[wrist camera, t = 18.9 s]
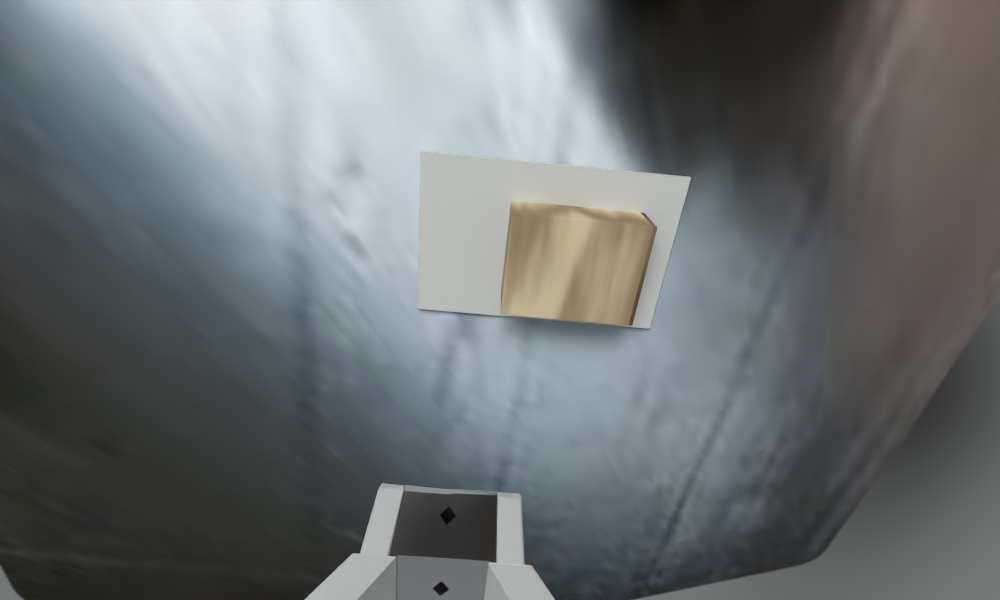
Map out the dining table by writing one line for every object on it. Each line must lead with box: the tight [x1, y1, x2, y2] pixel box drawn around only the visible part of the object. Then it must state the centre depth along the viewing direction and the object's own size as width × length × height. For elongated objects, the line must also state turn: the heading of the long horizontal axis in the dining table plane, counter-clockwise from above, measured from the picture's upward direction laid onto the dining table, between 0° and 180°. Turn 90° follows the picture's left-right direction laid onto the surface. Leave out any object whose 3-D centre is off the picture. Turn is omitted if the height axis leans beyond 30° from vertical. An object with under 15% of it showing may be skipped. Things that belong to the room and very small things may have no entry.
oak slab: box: [501, 200, 657, 326], centre depth 37 cm, size 4×8×10 cm
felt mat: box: [418, 151, 691, 329], centre depth 38 cm, size 20×13×1 cm, turn 85°
